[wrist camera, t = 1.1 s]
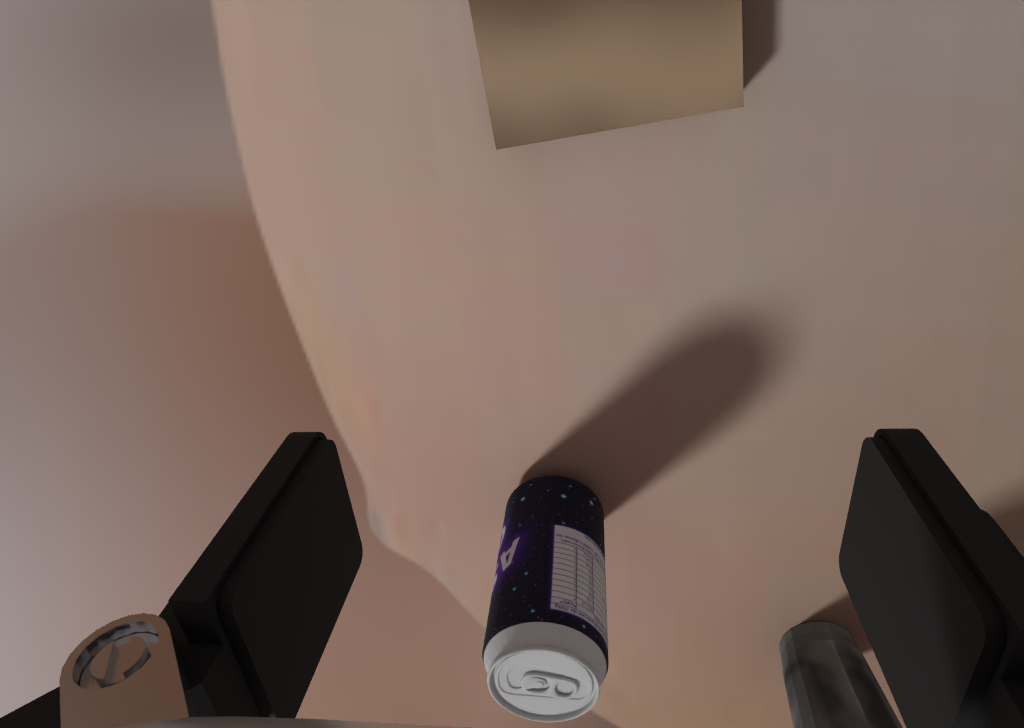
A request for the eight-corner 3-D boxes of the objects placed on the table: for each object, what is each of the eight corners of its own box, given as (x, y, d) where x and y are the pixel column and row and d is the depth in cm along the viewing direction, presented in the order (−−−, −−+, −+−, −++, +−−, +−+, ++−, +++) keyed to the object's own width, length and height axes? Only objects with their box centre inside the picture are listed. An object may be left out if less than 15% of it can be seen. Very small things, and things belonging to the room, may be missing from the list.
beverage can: (514, 457, 37) (486, 632, 27) (612, 475, 37) (622, 657, 26) (501, 531, 40) (471, 715, 29) (592, 547, 40) (594, 738, 29)
